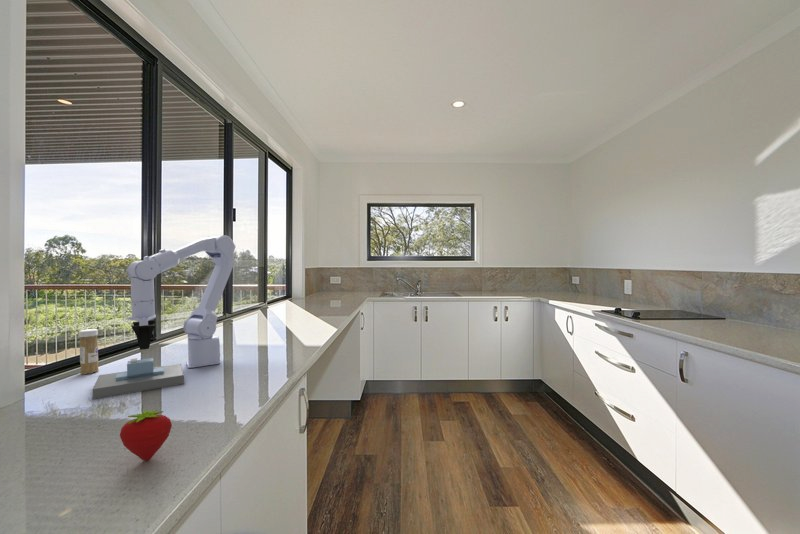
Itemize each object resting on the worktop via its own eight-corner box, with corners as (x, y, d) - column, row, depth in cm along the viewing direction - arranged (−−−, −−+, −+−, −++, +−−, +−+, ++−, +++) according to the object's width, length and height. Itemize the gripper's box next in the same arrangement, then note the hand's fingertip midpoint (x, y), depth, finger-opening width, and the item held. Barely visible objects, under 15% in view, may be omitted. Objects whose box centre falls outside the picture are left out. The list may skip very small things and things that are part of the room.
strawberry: (169, 464, 63) (167, 406, 63) (115, 474, 61) (113, 413, 60) (175, 448, 69) (174, 394, 69) (126, 456, 66) (124, 400, 66)
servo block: (164, 378, 110) (163, 353, 110) (164, 382, 107) (163, 356, 107) (117, 385, 104) (116, 359, 104) (116, 389, 101) (115, 363, 100)
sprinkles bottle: (97, 372, 116) (96, 330, 116) (78, 375, 114) (77, 331, 113) (99, 369, 120) (98, 327, 120) (81, 371, 118) (80, 329, 117)
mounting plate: (181, 371, 117) (180, 363, 117) (184, 383, 105) (183, 374, 105) (99, 383, 106) (99, 375, 106) (92, 399, 94) (92, 389, 94)
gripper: (127, 299, 114) (128, 344, 114) (125, 304, 102) (126, 353, 102) (154, 298, 118) (156, 340, 118) (156, 302, 106) (157, 349, 106)
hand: (144, 346), depth 111 cm, fingers open, 7 cm apart
